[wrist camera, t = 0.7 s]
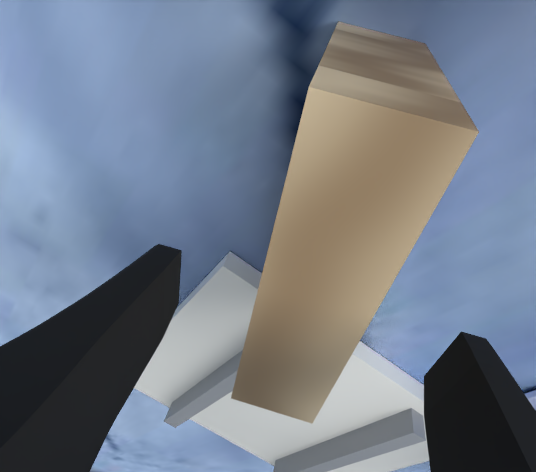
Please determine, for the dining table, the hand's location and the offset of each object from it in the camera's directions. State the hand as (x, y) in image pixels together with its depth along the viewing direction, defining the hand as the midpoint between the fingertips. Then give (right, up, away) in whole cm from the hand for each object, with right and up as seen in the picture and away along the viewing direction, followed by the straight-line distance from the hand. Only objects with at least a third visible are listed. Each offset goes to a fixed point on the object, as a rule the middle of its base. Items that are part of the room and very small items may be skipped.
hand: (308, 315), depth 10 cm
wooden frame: (+2, +5, +6) cm, 8 cm away
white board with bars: (0, -9, +17) cm, 19 cm away
